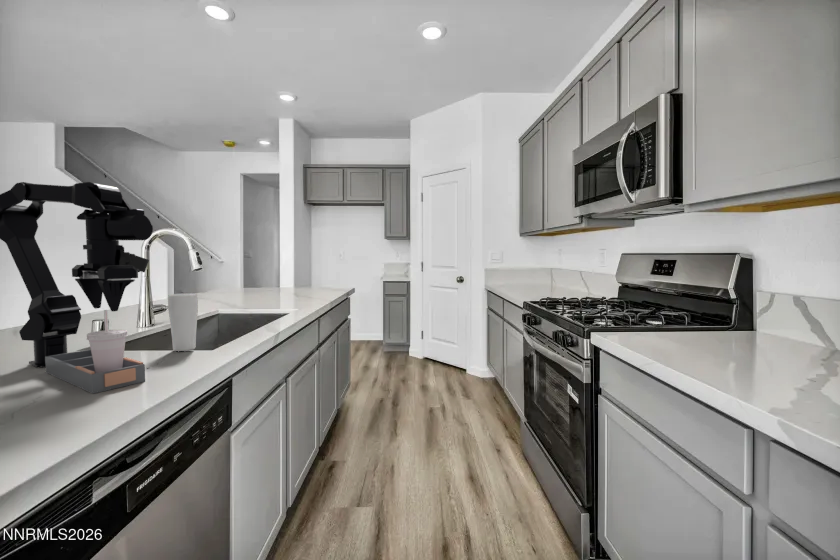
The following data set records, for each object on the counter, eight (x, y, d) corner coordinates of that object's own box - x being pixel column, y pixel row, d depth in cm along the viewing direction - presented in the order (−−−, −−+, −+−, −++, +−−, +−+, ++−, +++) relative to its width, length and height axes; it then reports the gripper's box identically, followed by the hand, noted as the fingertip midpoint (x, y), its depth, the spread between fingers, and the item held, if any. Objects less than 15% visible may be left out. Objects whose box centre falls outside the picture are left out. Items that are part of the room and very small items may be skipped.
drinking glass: (185, 353, 103) (183, 296, 102) (163, 352, 105) (161, 295, 104) (204, 347, 110) (203, 293, 109) (183, 346, 111) (181, 293, 110)
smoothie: (124, 373, 83) (121, 307, 83) (133, 380, 79) (130, 310, 78) (85, 381, 79) (81, 310, 78) (92, 388, 74) (89, 313, 74)
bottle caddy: (45, 372, 86) (45, 355, 86) (94, 363, 93) (93, 347, 93) (93, 393, 73) (93, 373, 72) (146, 381, 80) (145, 363, 80)
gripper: (162, 241, 91) (164, 308, 92) (125, 242, 101) (127, 303, 102) (103, 239, 82) (107, 314, 83) (69, 240, 92) (72, 308, 93)
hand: (105, 309), depth 90 cm, fingers open, 9 cm apart
